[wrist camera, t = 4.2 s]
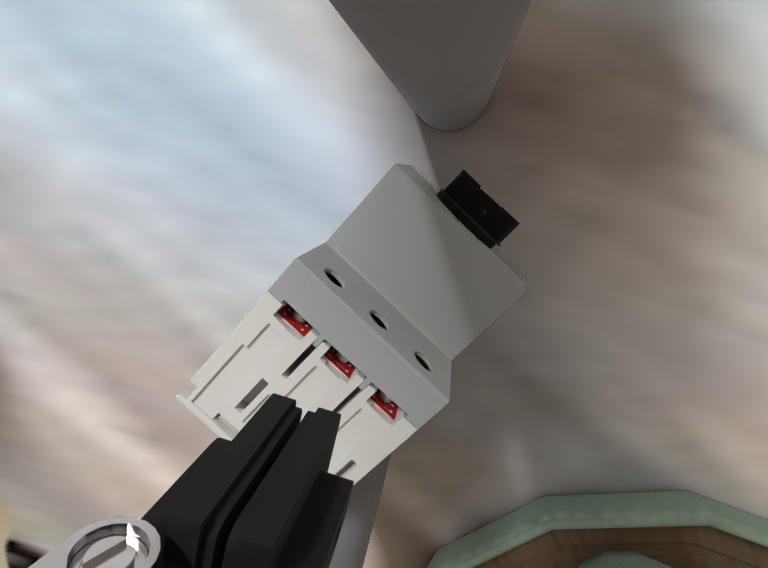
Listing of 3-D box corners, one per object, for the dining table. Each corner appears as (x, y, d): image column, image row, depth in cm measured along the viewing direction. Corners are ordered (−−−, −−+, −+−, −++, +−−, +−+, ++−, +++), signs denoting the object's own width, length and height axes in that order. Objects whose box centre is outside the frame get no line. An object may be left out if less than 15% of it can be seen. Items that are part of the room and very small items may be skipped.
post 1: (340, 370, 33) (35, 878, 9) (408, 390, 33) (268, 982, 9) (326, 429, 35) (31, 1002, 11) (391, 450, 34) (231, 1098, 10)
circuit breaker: (522, 228, 29) (584, 285, 14) (375, 369, 33) (308, 523, 19) (438, 145, 28) (415, 120, 14) (299, 299, 33) (171, 401, 18)
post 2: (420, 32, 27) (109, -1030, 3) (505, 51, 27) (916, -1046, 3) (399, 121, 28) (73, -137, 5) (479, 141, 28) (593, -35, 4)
